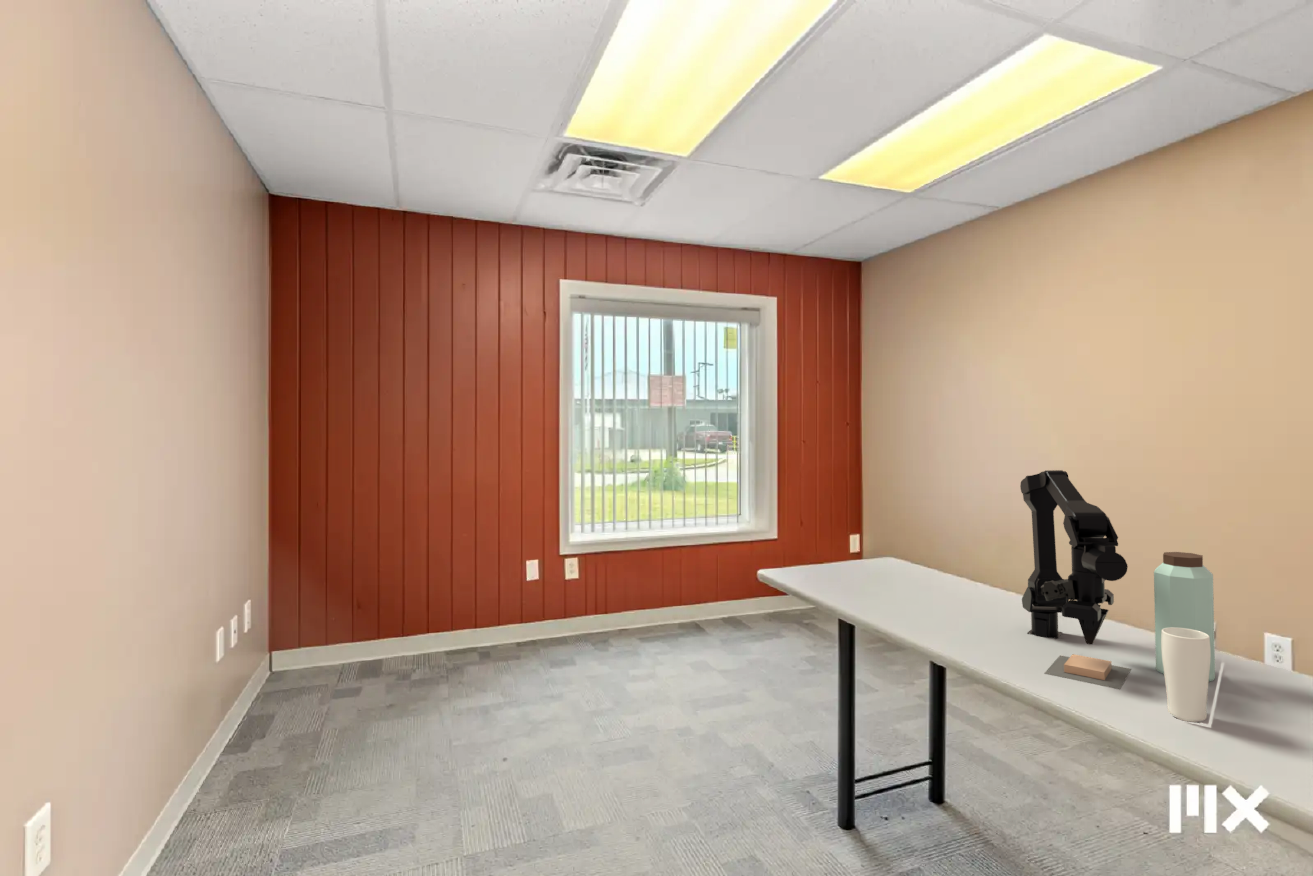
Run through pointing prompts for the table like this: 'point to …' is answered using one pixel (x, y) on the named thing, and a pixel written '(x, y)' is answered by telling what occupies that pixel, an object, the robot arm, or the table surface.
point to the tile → (1088, 666)
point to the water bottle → (1183, 599)
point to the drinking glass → (1186, 672)
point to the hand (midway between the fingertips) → (1089, 643)
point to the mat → (1112, 679)
